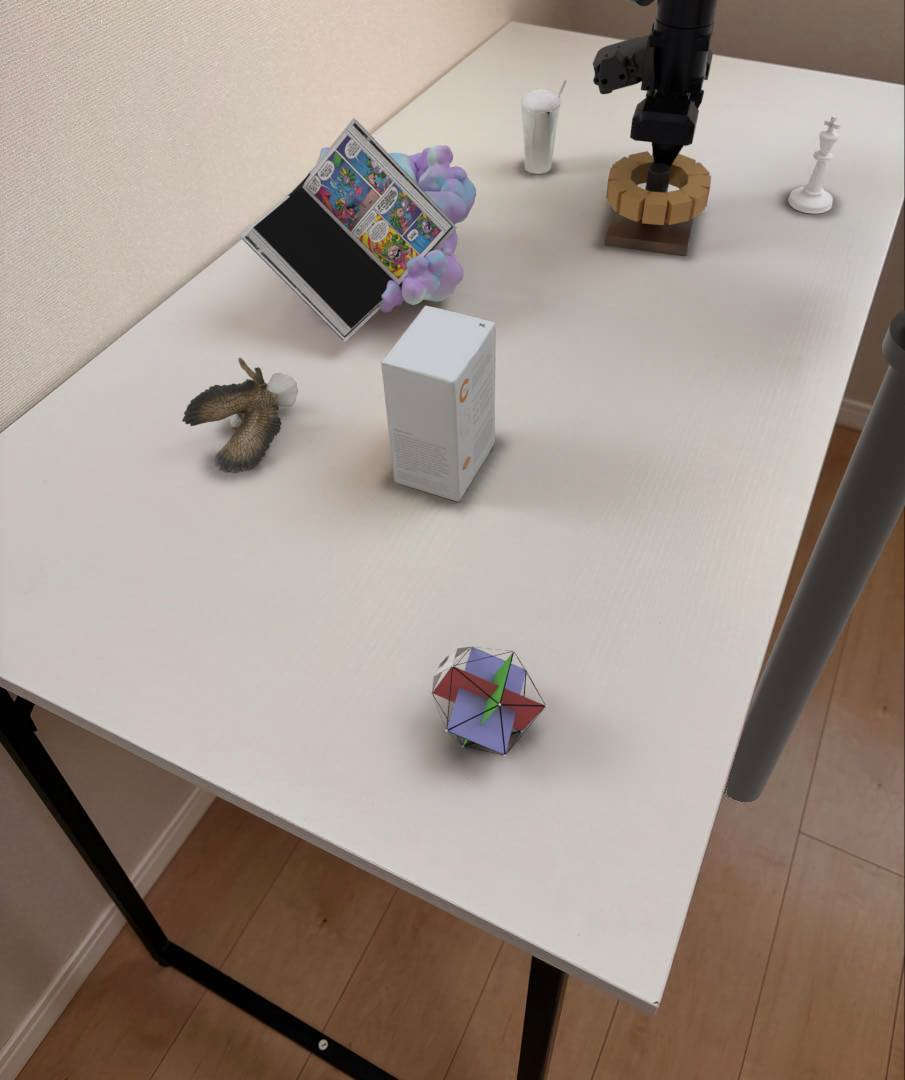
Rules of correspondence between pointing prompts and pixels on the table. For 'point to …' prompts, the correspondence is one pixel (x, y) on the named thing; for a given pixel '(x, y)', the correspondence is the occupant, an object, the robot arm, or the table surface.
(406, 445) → the small box
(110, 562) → the table surface
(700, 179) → the segmented wooden ring
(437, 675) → the geometric puzzle
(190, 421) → the eagle figurine
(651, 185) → the dark wooden peg stand
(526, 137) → the milkshake
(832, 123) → the chess piece
